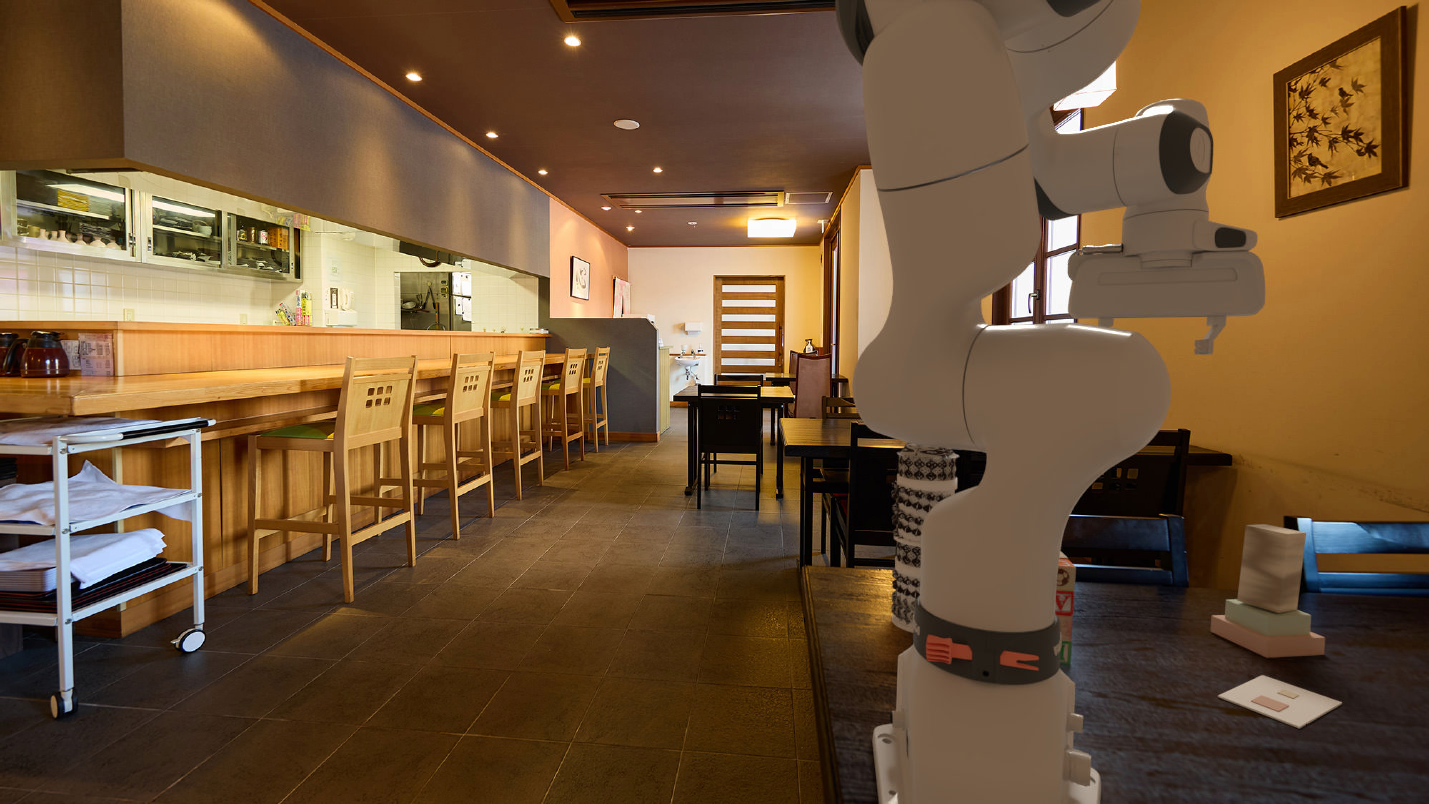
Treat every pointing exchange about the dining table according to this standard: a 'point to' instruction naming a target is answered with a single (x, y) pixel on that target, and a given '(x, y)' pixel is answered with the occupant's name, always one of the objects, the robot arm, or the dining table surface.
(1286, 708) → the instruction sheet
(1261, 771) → the dining table surface
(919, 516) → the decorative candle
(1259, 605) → the maple column
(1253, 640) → the tower base
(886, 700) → the dining table surface
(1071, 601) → the stack of blocks
